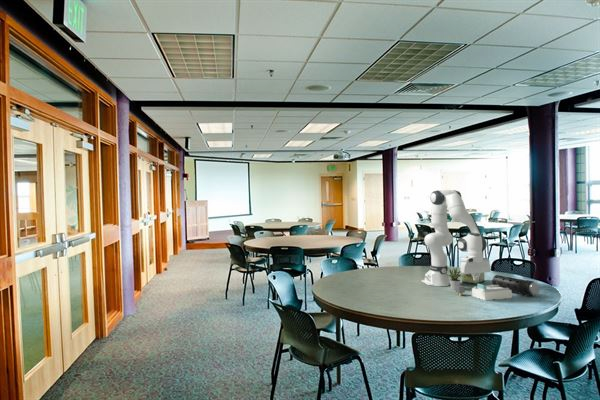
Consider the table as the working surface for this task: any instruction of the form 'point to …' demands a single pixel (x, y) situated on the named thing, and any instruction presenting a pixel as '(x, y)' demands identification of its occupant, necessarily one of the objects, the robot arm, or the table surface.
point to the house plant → (454, 278)
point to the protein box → (469, 279)
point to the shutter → (483, 287)
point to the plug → (460, 290)
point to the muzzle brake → (517, 285)
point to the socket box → (492, 293)
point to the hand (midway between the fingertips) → (476, 279)
